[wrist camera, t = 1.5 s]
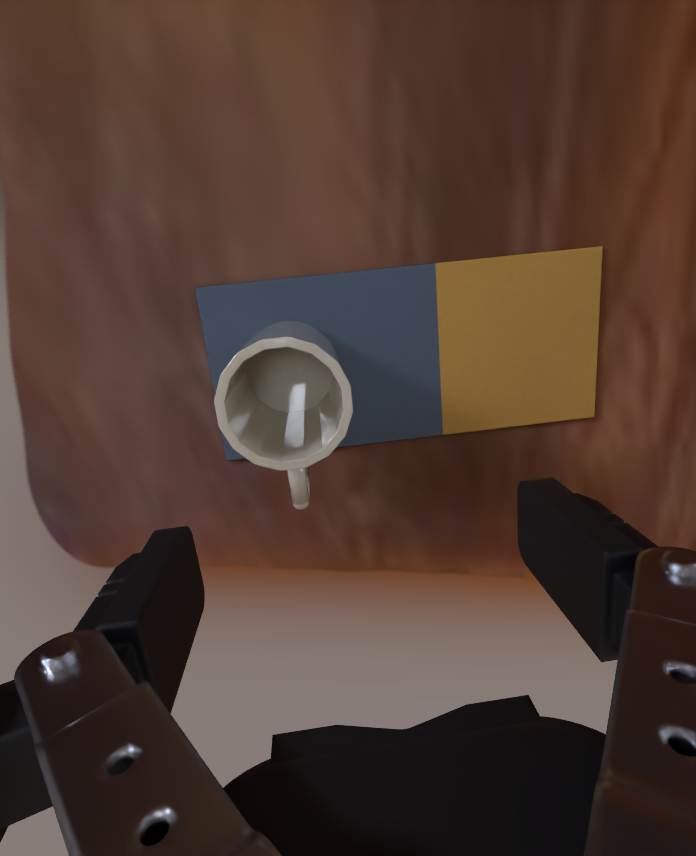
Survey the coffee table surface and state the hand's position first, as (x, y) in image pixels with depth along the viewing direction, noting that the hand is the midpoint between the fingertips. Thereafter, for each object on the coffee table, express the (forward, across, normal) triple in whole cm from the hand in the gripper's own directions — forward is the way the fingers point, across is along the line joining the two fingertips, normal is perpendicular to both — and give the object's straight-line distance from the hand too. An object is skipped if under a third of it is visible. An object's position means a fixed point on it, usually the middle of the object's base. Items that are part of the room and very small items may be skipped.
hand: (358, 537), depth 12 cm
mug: (+21, +2, +1) cm, 21 cm away
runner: (+21, -5, -1) cm, 21 cm away
